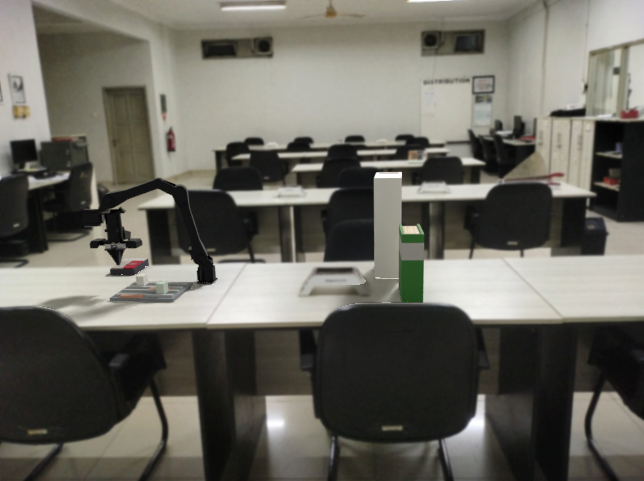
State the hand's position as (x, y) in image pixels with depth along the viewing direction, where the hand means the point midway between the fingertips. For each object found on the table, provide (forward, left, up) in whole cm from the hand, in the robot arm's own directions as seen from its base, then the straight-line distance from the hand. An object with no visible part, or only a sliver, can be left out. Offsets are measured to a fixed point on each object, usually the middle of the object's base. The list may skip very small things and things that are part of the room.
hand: (118, 265), depth 203 cm
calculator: (+9, -26, -10) cm, 29 cm away
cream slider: (-9, 0, -8) cm, 12 cm away
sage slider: (-21, +9, -8) cm, 24 cm away
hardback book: (-111, +1, -10) cm, 111 cm away
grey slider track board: (-15, +4, -10) cm, 18 cm away
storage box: (-103, -27, -10) cm, 107 cm away
